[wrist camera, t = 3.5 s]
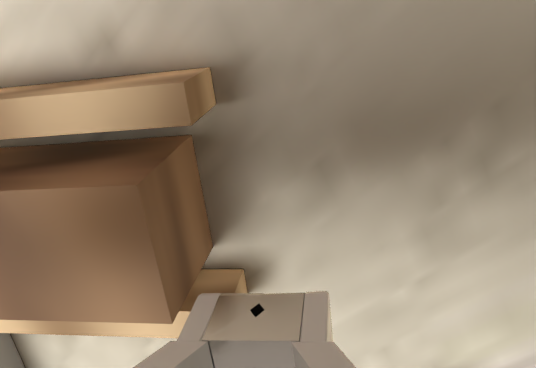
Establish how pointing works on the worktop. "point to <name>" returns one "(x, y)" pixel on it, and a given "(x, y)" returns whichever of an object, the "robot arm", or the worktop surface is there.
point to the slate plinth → (9, 353)
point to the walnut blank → (101, 230)
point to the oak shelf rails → (105, 120)
